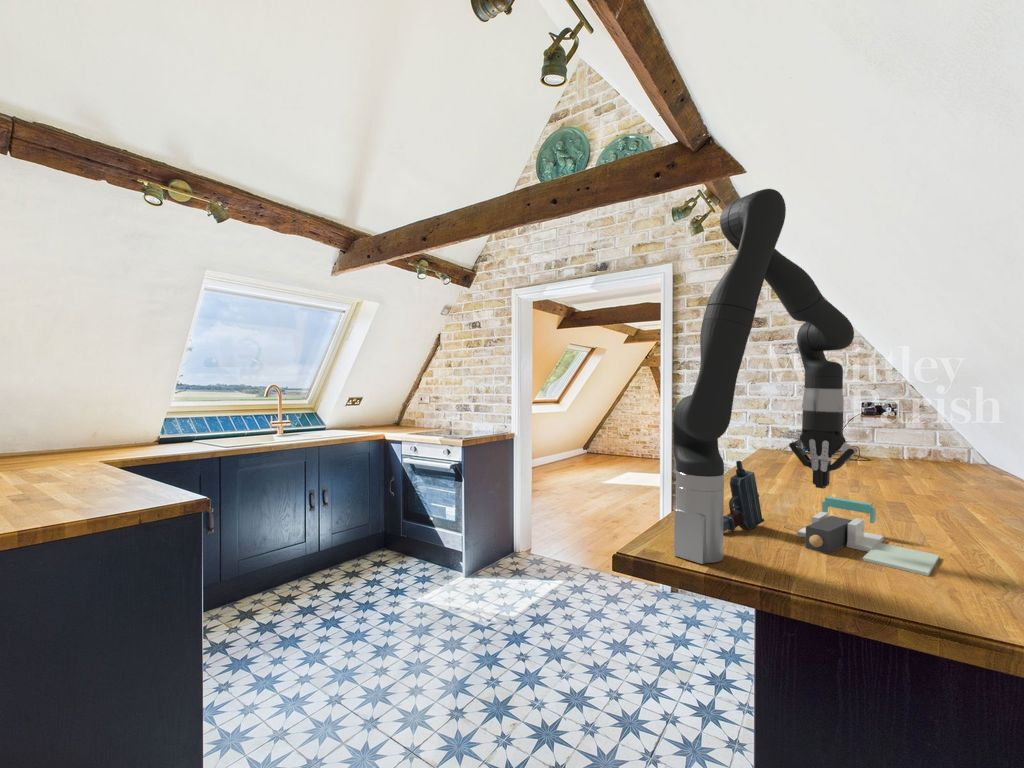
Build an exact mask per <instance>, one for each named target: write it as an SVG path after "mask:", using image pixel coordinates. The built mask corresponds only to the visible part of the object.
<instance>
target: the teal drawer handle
mask: <svg viewBox="0 0 1024 768" xmlns="http://www.w3.org/2000/svg"><path fill="white" fill-rule="evenodd" d="M821 504H822V505H821V507H822V508H821V512H827V513H828V514H829V508H836V509H841V510H846V511H852V512H857V513H865V514H869V523H870V524H874V523H876V520H877V519H876V516H877V515H876V514H877V513H876V511H877V509H876V508H874V507H873V506H874V505H873V503H871V502H865V501H859V500H854V499H853V500H852V499H846V498H840V497H834V496H829V495H828V496H826V497H824V500H823V501H822V503H821Z"/></svg>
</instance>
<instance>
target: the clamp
mask: <svg viewBox="0 0 1024 768" xmlns="http://www.w3.org/2000/svg"><path fill="white" fill-rule="evenodd" d="M827 517H829V512H828V513H827V512H822V511H819V512H817V513H816V514H814V515H813V516H811V523H809V524H808V525H810V524H813V523H815V522H817V521H820V520H822V519H825V518H827ZM851 520H852V521H851V522H850V523H848V540H847V545H846V547H847V548H849V549H854V550H858V551H863V552H867V553H868V552H869V551H870V550H871V549H872V548H873V547H874V546H875V545H876V544H878V543H883V542H884V535H880V534H876V533H871V532H865V531H864V530H865V518H859V517H856V518H854V519H851ZM796 536H797V537H800V538H801V537H802V538H805V539H806V526H804V527H803V528H801V529H798V530H797V532H796Z"/></svg>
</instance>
